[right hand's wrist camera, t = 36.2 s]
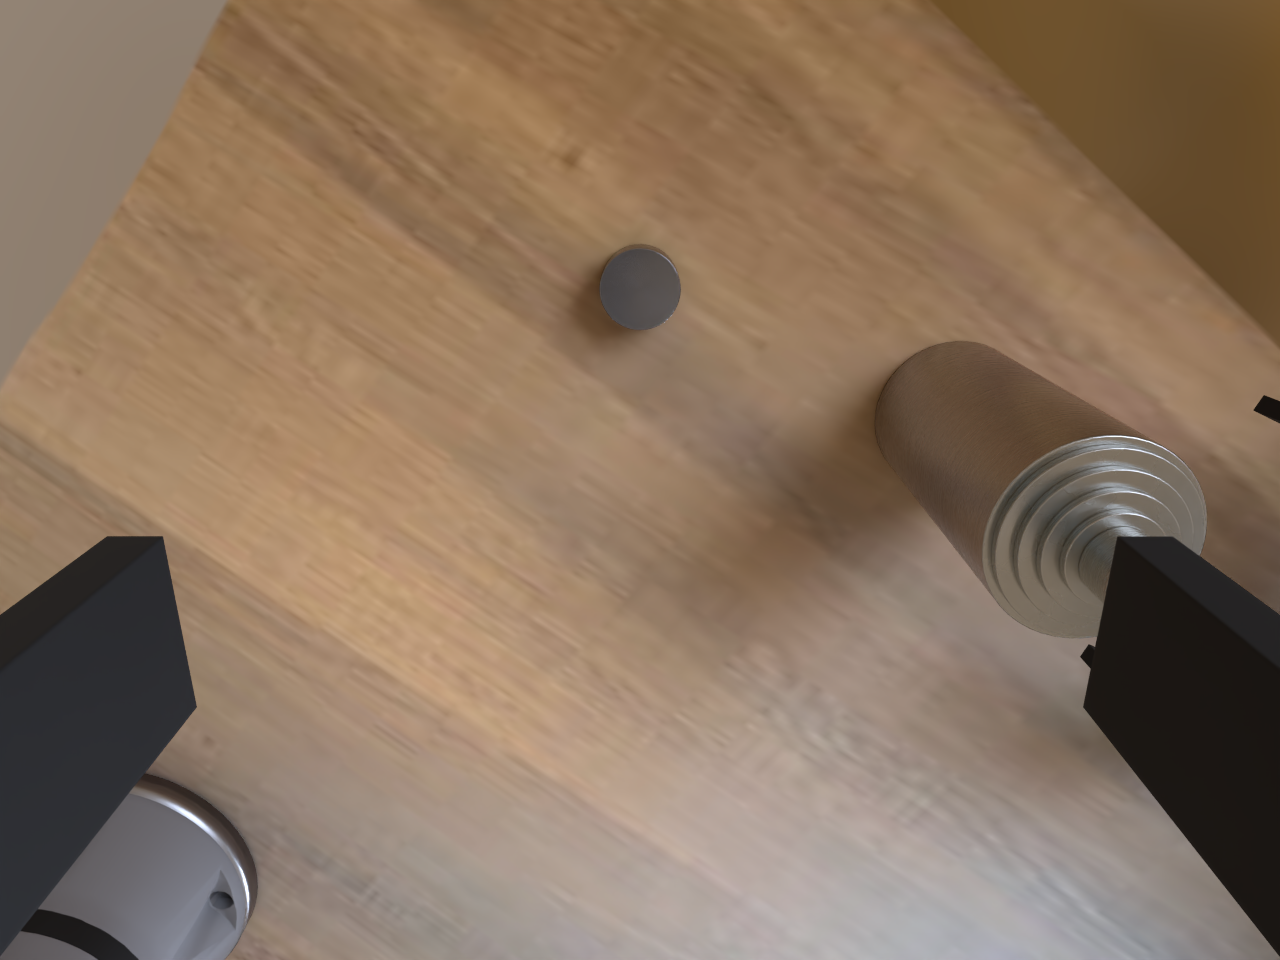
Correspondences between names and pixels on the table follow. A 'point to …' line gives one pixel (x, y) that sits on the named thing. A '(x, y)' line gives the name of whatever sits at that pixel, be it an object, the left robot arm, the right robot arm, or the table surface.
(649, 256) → the cap
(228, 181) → the table surface
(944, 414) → the bottle
